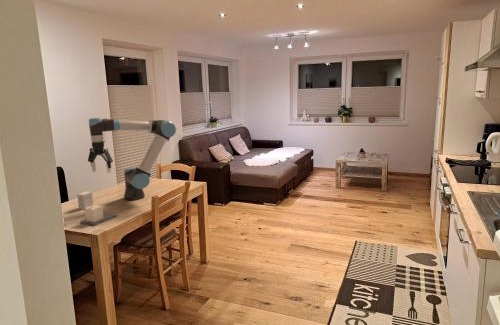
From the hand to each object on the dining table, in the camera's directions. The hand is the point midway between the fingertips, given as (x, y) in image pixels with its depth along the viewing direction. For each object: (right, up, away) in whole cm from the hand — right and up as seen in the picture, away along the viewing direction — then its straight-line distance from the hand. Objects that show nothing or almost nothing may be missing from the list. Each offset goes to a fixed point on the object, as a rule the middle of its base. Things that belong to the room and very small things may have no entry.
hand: (101, 172), depth 240 cm
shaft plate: (+6, -30, -17) cm, 35 cm away
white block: (+4, -29, -20) cm, 35 cm away
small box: (-14, -25, +8) cm, 30 cm away
